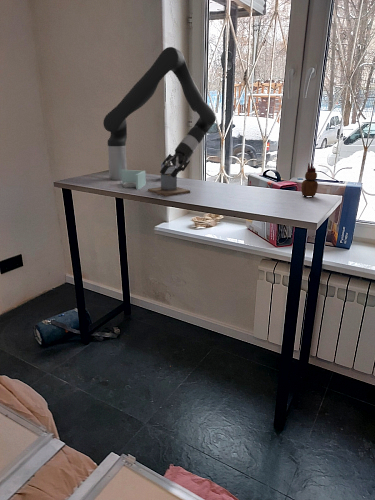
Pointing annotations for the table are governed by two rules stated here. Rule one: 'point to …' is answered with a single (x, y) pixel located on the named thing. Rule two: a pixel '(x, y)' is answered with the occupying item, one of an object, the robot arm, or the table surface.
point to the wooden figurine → (310, 182)
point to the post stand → (168, 193)
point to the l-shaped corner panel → (133, 178)
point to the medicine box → (168, 168)
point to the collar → (168, 182)
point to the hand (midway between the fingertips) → (166, 175)
